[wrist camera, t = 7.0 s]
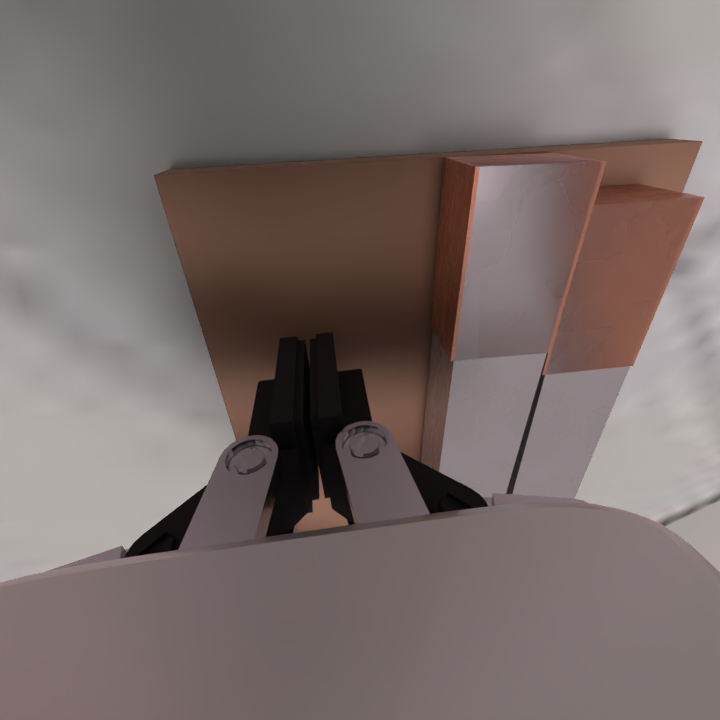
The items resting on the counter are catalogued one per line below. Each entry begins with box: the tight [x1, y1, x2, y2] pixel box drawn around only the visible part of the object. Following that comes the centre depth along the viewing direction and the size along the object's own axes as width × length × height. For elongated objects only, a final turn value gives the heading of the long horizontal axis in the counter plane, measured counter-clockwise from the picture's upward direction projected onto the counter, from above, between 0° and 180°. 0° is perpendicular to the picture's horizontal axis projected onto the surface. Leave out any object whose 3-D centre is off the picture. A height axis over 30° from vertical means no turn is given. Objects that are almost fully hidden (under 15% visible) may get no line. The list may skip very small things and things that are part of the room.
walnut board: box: [154, 139, 702, 532], centre depth 17 cm, size 23×15×1 cm, turn 3°
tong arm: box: [420, 153, 607, 498], centre depth 14 cm, size 19×3×2 cm, turn 1°
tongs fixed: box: [506, 183, 704, 499], centre depth 16 cm, size 22×7×3 cm, turn 3°
